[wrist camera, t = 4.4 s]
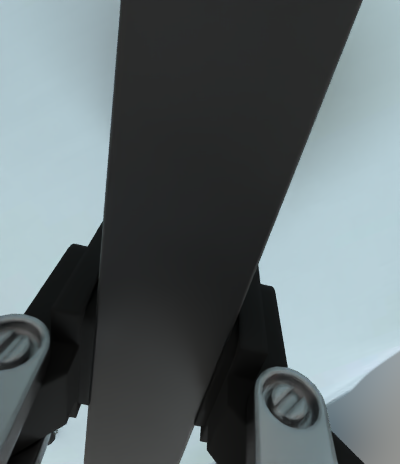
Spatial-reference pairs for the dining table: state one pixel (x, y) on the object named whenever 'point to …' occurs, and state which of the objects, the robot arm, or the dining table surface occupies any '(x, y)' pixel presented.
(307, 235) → the dining table surface
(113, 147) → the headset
